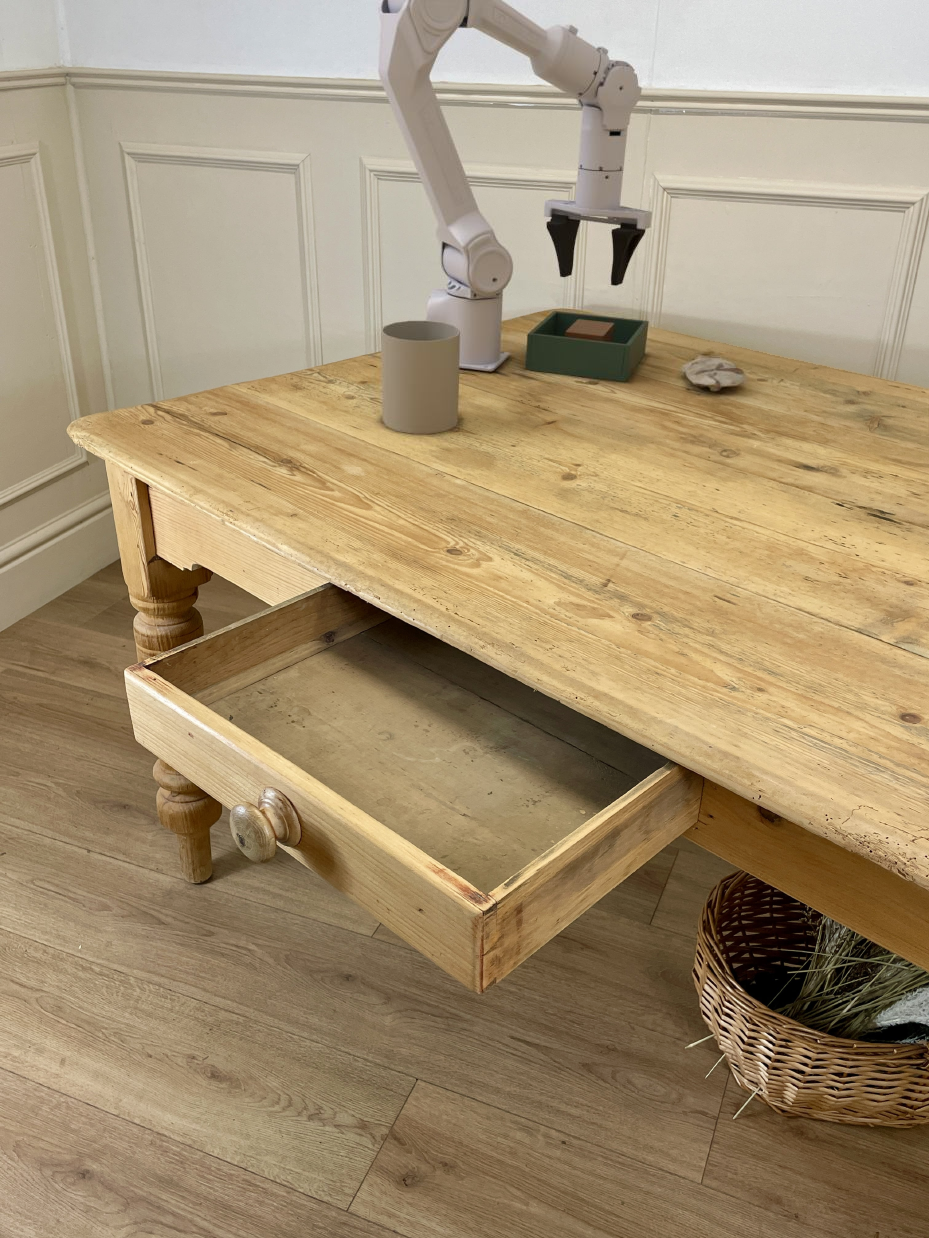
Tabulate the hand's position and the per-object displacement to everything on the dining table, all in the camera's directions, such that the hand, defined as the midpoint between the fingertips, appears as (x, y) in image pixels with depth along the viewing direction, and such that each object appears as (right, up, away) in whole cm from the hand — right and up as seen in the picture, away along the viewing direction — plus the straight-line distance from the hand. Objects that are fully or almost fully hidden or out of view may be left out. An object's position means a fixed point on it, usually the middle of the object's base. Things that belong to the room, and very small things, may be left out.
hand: (590, 280), depth 132 cm
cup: (-22, -23, -21) cm, 38 cm away
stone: (+15, -16, -7) cm, 22 cm away
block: (0, -10, 0) cm, 10 cm away
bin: (-1, -11, 0) cm, 11 cm away
